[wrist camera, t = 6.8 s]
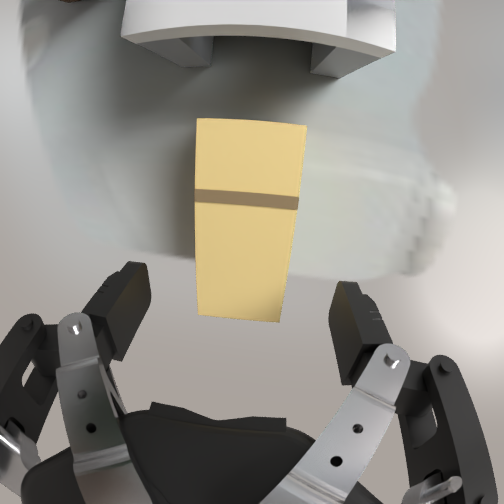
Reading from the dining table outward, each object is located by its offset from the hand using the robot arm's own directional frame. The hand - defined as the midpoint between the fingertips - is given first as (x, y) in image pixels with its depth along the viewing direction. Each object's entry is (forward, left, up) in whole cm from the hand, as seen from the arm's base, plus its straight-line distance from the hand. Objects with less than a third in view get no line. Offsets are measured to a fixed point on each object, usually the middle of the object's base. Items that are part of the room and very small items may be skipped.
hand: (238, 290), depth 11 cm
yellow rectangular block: (-2, 0, -6) cm, 6 cm away
